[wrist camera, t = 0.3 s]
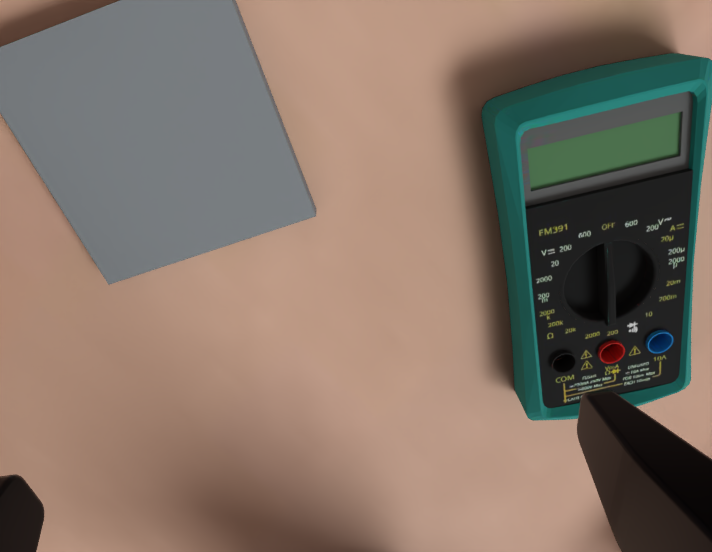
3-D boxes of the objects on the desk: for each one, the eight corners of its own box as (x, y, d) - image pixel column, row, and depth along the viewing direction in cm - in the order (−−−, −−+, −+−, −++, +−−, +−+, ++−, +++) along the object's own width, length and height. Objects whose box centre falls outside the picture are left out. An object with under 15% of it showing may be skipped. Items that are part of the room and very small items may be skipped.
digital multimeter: (512, 398, 27) (533, 442, 25) (474, 93, 20) (498, 108, 17) (661, 366, 27) (699, 407, 24) (676, 42, 20) (733, 49, 17)
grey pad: (316, 209, 21) (315, 215, 21) (115, 275, 22) (108, 284, 22) (221, -37, 17) (216, -38, 17) (-20, 57, 18) (-33, 59, 18)
